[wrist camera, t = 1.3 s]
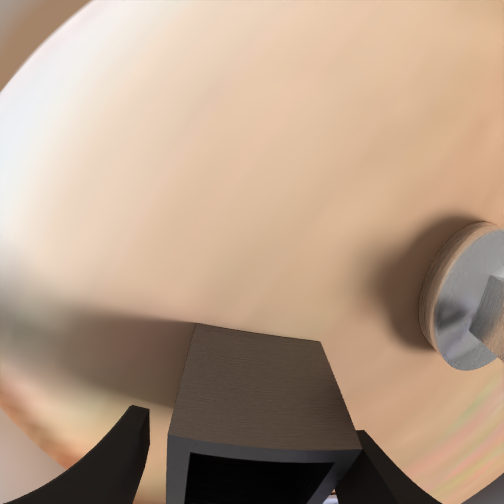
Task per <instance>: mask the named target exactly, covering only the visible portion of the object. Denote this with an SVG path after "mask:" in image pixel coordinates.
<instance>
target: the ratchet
mask: <svg viewBox="0 0 504 504" xmlns="http://www.w3.org/2000/svg"><path fill="white" fill-rule="evenodd" d="M418 312H419V323H420V327H421V330H422V333H423V335H424V337H425V338H426V339H427V341H428V342H429V343H430V344H431V345H432V346H433V347H434V349H435V350H436V351H437V352H438V353H439V354H440V355H441V356H442V357H443V358H444V359H445V361H446V362H447V363H448V364H449V365H451V366H452V367H454V368H455V369H459V370H466V371H467V370H474V369H477V368H480V367H483V366H485V365H487V364H488V363H490V362H492V361H493V360H495V359H496V358H497V357H498V358H499V359H501V360H502V361H503V362H504V227H502V226H499V225H496V224H493V223H489V222H476V223H473V224H469V225H467V226H465V227H463V228H462V229H460V230H459V231H457V232H456V233H455V234H454V235H453V236H452V237H450V238H449V239H448V241H447V242H446V243H445V244H444V245H443V246H442V248H441V249H440V250H439V252H438V253H437V255H436V256H435V258H434V260H433V261H432V263H431V265H430V267H429V269H428V271H427V274H426V276H425V279H424V282H423V285H422V289H421V293H420V298H419V308H418Z"/></svg>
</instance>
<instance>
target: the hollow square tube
mask: <svg viewBox="0 0 504 504" xmlns="http://www.w3.org/2000/svg"><path fill="white" fill-rule="evenodd" d="M361 451H362V446H361V443H360V441H359V438H358V436H357V433H356V430H355V428H354V425H353V423H352V420H351V417H350V415H349V412H348V410H347V407H346V405H345V402H344V399H343V397H342V394H341V392H340V389H339V387H338V384H337V382H336V379H335V377H334V374H333V372H332V369H331V367H330V364H329V362H328V359H327V357H326V355H325V352H324V350H323V347H322V345H321V342H317V341H309V340H301V339H293V338H285V337H278V336H271V335H264V334H257V333H251V332H245V331H238V330H232V329H226V328H221V327H215V326H209V325H204V324H198V323H196V326H195V330H194V334H193V337H192V341H191V345H190V349H189V352H188V356H187V360H186V364H185V367H184V371H183V375H182V379H181V383H180V387H179V391H178V395H177V399H176V403H175V407H174V411H173V415H172V419H171V423H170V427H169V431H168V439H167V472H166V504H323V503H324V501H325V500H326V499H327V498H328V496H329V495H330V494H331V493H332V491H333V490H334V489H335V487H336V486H337V485H338V483H339V482H340V481H341V479H342V478H343V477H344V475H345V474H346V472H347V471H348V470H349V468H350V467H351V465H352V464H353V462H354V461H355V460H356V458H357V457H358V455H359V454H360V452H361Z"/></svg>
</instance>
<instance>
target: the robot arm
mask: <svg viewBox="0 0 504 504" xmlns="http://www.w3.org/2000/svg"><path fill="white" fill-rule="evenodd" d="M356 433H357V436H358V438H359V441H360V443H361V446H362V451H361V452H360V454H359V455H358V457H357V458H356V460H355V461H354V462H353V464H352V465H351V467H350V468H349V470H348V471H347V472H346V474H345V475H344V477H343V478H342V479H341V481H340V482H339V483H338V485H337V486H336V487H335V492H336V495H329V496H328V498H327V499H326V500H325V501H324V503H323V504H442V503H440V502H439V501H437V500H436V499H434V498H433V497H432V496H430V495H429V494H428V493H426V492H425V491H424V490H422V489H421V488H420V487H419V486H417V485H416V484H415V483H414V482H413V481H412V480H411V479H410V478H409V477H407V476H406V475H405V474H404V473H403V472H402V471H401V470H400V469H399V468H398V467H397V466H396V465H395V464H394V462H393V461H392V460H391V459H390V458H389V457H388V456H387V455H386V454H385V453H384V452H383V450H382V449H381V448H380V447H379V446H378V445H377V444H376V443H375V442H374V440H373V439H372V438H371V437H370V436H369V435H368V434H367V433H366V432H365V431H364V430H356ZM149 446H150V421H149V409H146V408H142V407H138V406H134V405H132V406H130V407H129V408H128V409H127V411H126V412H125V413H124V415H123V416H122V417H121V418H120V420H119V421H118V422H117V423H116V424H115V425H114V427H113V428H112V429H111V430H110V431H109V432H108V433H107V434H106V435H105V436H104V437H103V439H102V440H101V441H100V442H99V443H98V444H97V445H96V446H95V447H94V448H93V449H91V450H90V451H89V452H88V453H87V454H86V455H85V456H84V457H83V458H81V459H80V460H79V461H78V462H77V463H76V464H74V465H73V466H72V467H70V468H69V469H68V470H66V471H65V472H64V473H62V474H61V475H59V476H58V477H57V478H55V479H53V480H52V481H50V482H49V483H47V484H45V485H44V486H42V487H40V488H38V489H36V490H34V491H32V492H30V493H28V494H26V495H24V496H22V497H20V498H17V499H15V500H13V501H10V502H7V503H4V504H132V503H133V500H134V497H135V494H136V492H137V489H138V486H139V483H140V480H141V477H142V474H143V471H144V468H145V464H146V460H147V455H148V450H149Z"/></svg>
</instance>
